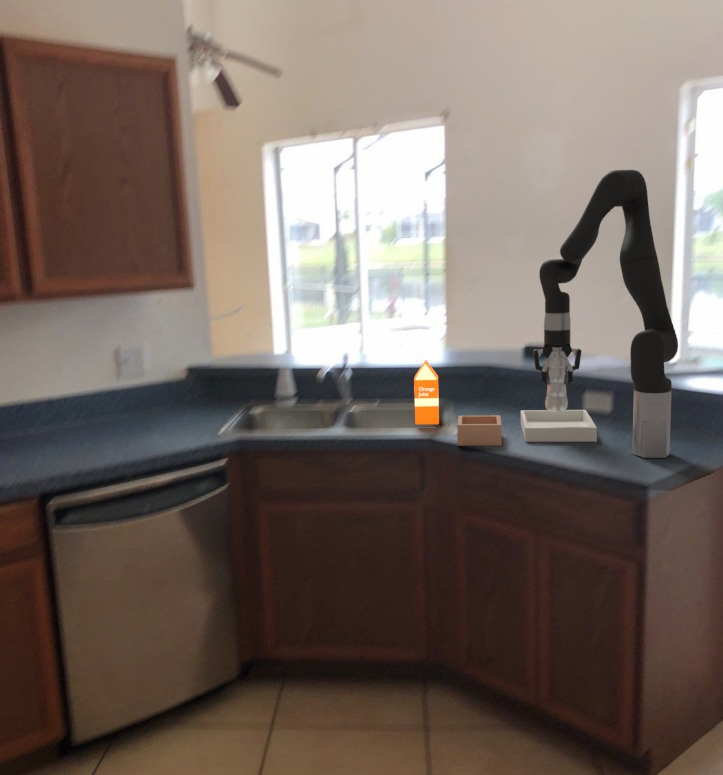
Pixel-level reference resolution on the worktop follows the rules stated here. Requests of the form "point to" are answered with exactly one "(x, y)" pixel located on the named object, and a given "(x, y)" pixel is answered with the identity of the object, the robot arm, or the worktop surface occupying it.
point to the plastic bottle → (556, 382)
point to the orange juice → (426, 395)
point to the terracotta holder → (479, 430)
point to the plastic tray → (558, 426)
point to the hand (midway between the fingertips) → (556, 383)
